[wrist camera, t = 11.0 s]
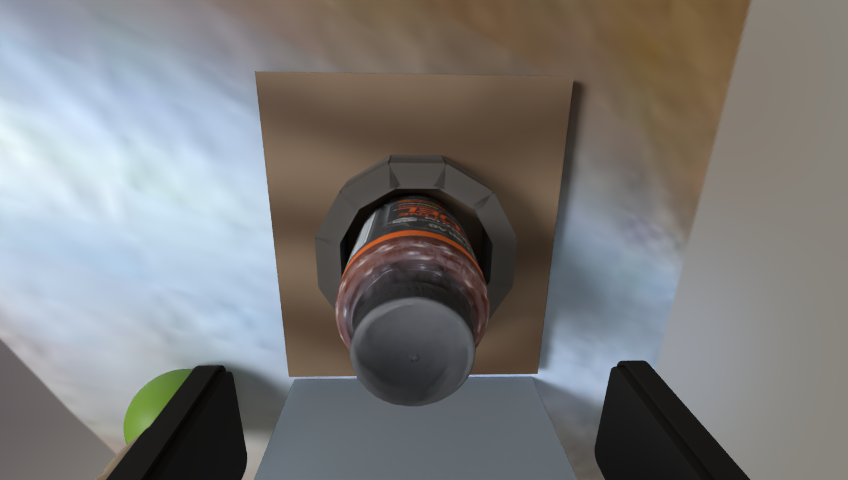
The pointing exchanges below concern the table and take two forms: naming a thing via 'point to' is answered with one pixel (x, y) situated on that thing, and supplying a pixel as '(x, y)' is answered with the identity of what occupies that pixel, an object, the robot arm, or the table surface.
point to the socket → (413, 173)
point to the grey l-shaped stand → (415, 435)
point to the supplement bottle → (412, 302)
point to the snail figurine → (146, 410)
